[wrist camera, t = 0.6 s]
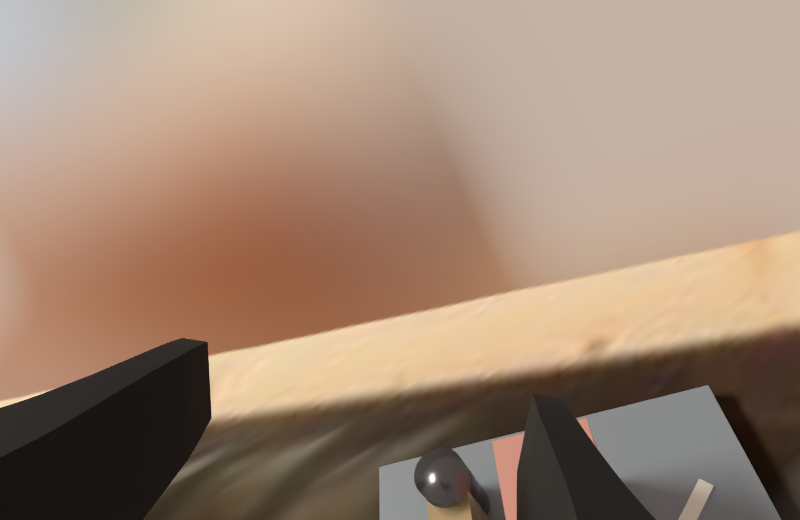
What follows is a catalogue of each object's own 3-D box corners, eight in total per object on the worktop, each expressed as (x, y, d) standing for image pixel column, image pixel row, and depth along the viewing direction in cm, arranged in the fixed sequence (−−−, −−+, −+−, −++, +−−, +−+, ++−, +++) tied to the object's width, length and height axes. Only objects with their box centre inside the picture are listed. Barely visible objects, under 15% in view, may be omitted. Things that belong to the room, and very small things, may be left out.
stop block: (639, 571, 23) (618, 517, 19) (546, 588, 24) (509, 539, 20) (608, 479, 26) (586, 417, 22) (527, 497, 27) (492, 441, 23)
